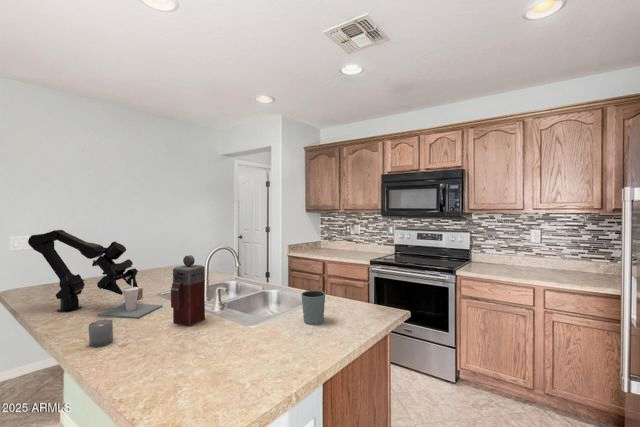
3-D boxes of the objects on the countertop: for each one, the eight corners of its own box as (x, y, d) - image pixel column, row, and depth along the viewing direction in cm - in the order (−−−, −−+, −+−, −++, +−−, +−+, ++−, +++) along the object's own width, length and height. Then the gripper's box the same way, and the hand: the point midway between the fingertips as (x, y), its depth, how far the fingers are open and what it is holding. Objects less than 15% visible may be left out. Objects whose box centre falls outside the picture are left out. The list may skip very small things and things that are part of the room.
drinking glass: (330, 321, 134) (330, 293, 134) (313, 328, 127) (313, 298, 126) (313, 315, 141) (313, 288, 141) (296, 321, 134) (296, 293, 133)
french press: (168, 325, 129) (167, 257, 128) (189, 316, 139) (188, 253, 138) (185, 328, 125) (184, 258, 124) (205, 319, 136) (204, 254, 135)
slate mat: (97, 315, 139) (97, 314, 139) (125, 304, 155) (125, 302, 155) (138, 318, 136) (138, 316, 136) (162, 306, 152) (162, 305, 152)
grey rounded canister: (84, 345, 110) (83, 326, 109) (102, 337, 117) (101, 318, 116) (100, 348, 108) (99, 328, 108) (117, 339, 115) (117, 320, 115)
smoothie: (137, 311, 143) (136, 280, 142) (121, 312, 141) (120, 281, 141) (140, 306, 149) (140, 277, 149) (125, 307, 147) (125, 278, 147)
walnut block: (127, 300, 161) (127, 291, 161) (132, 297, 166) (132, 288, 166) (138, 300, 162) (138, 290, 162) (142, 297, 167) (142, 288, 166)
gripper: (102, 258, 136) (125, 284, 135) (134, 251, 155) (154, 275, 153) (87, 275, 138) (109, 302, 136) (120, 267, 156) (140, 290, 155)
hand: (130, 291), depth 145 cm, fingers open, 9 cm apart
